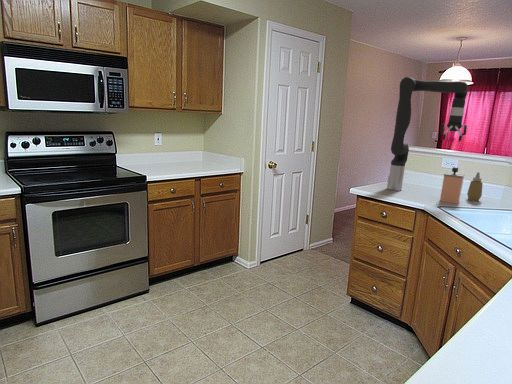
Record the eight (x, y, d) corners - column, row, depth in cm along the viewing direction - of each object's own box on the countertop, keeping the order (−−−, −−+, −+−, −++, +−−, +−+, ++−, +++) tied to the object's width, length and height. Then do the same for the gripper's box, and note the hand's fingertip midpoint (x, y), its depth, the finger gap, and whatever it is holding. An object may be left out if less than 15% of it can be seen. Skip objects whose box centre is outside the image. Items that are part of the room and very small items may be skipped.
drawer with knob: (439, 199, 228) (445, 167, 223) (442, 196, 236) (447, 165, 232) (458, 202, 222) (464, 169, 218) (460, 199, 231) (465, 167, 226)
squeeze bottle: (473, 201, 231) (478, 173, 227) (463, 198, 239) (468, 171, 235) (483, 201, 234) (489, 173, 230) (473, 198, 241) (478, 171, 237)
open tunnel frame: (439, 201, 228) (444, 175, 224) (442, 198, 236) (446, 173, 233) (457, 204, 223) (462, 178, 219) (459, 201, 231) (463, 176, 227)
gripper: (443, 114, 231) (438, 140, 235) (468, 115, 223) (463, 142, 227) (444, 114, 237) (440, 139, 241) (469, 115, 230) (464, 141, 233)
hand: (451, 140), depth 234 cm, fingers open, 8 cm apart
